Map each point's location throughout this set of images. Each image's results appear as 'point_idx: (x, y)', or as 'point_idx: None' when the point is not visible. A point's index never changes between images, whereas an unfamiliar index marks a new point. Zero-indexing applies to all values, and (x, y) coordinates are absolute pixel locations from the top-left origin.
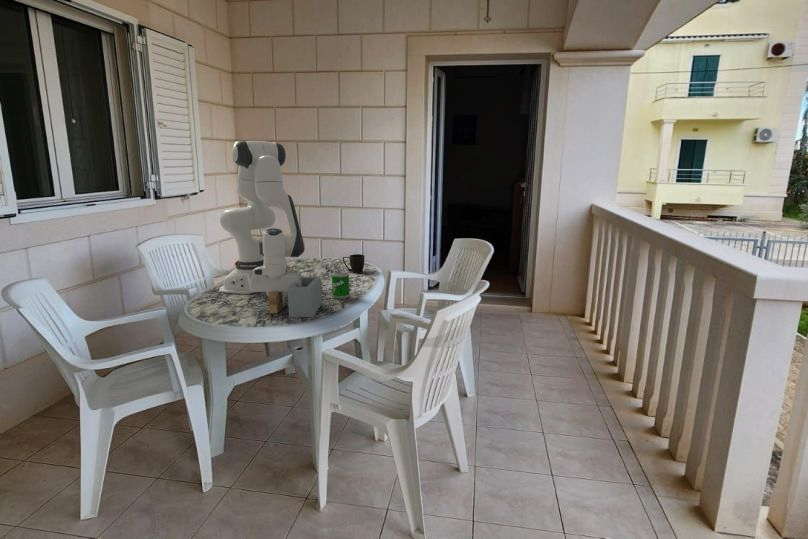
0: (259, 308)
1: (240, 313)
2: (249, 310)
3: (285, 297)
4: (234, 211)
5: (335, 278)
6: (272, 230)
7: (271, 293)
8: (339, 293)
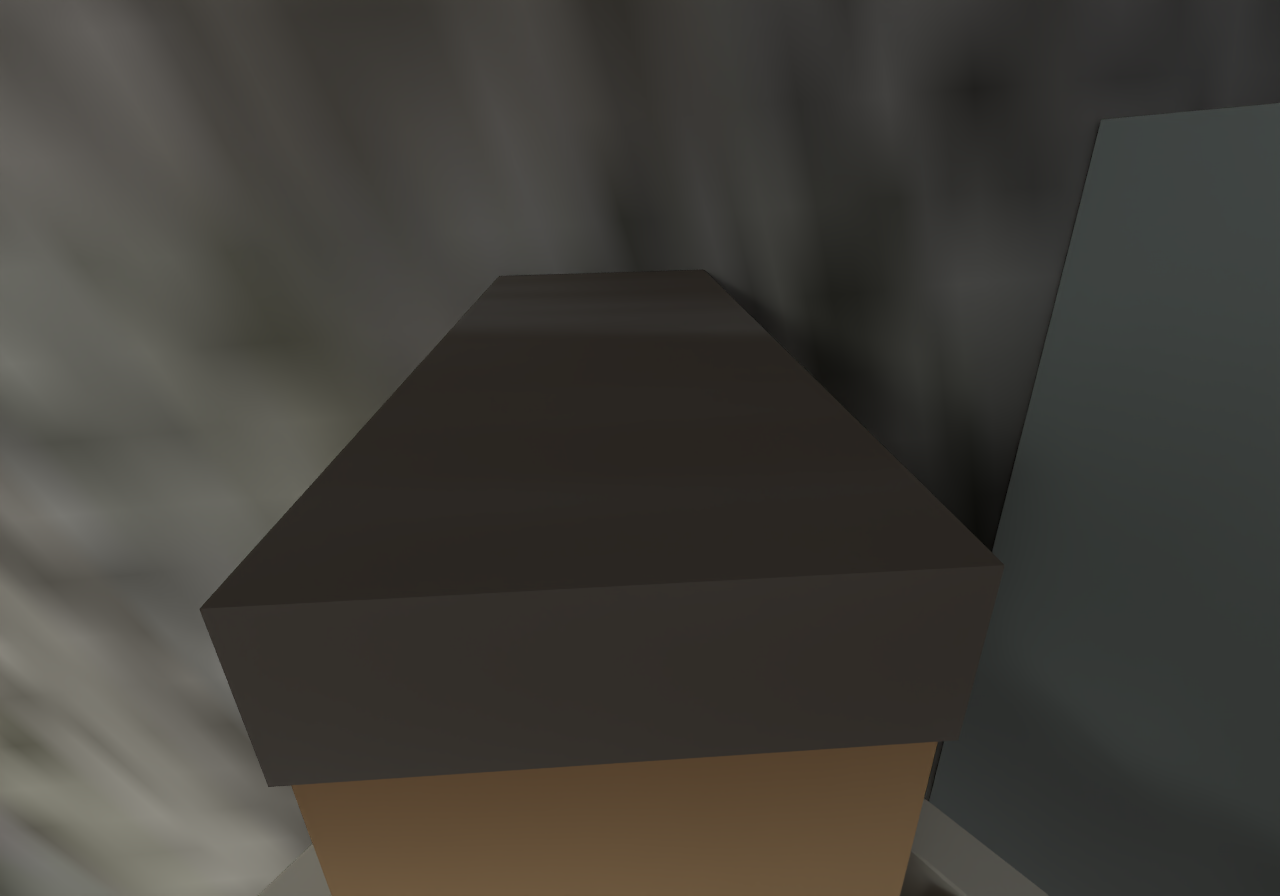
0: (184, 574)
1: (34, 831)
2: (66, 696)
3: (750, 326)
4: None
5: None
6: None
7: None
8: None
